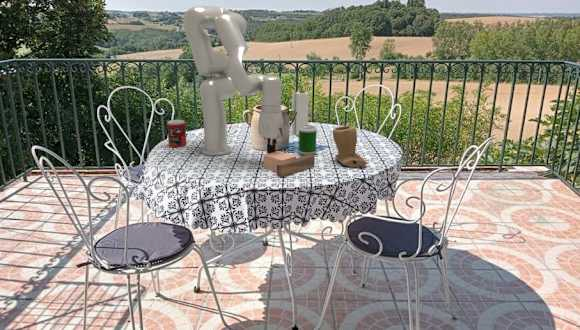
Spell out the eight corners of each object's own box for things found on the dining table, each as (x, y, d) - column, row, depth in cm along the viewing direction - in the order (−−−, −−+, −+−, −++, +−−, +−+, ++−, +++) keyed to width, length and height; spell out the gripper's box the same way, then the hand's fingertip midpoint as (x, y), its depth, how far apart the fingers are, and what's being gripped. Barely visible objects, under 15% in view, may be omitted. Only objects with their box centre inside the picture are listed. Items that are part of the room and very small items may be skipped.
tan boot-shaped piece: (328, 157, 187) (330, 122, 182) (356, 156, 189) (358, 122, 184) (338, 169, 173) (339, 132, 168) (367, 168, 174) (369, 131, 170)
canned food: (165, 146, 202) (163, 122, 198) (176, 142, 209) (174, 119, 205) (179, 148, 199) (177, 124, 195) (189, 143, 206) (188, 120, 202)
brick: (263, 168, 174) (263, 154, 172) (278, 163, 180) (278, 150, 178) (282, 174, 168) (281, 160, 166) (296, 169, 173) (296, 155, 171)
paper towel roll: (310, 134, 224) (310, 91, 217) (303, 136, 219) (304, 93, 212) (297, 132, 227) (298, 90, 221) (291, 134, 223) (291, 92, 216)
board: (276, 175, 166) (276, 164, 164) (308, 164, 178) (308, 154, 177) (282, 177, 164) (282, 166, 162) (314, 166, 176) (314, 155, 175)
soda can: (314, 156, 188) (315, 129, 184) (297, 155, 190) (297, 128, 186) (317, 151, 195) (317, 125, 191) (300, 150, 197) (300, 124, 193)
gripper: (251, 107, 175) (251, 151, 181) (277, 112, 165) (277, 159, 171) (265, 104, 180) (265, 148, 186) (291, 110, 170) (291, 155, 176)
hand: (271, 153), depth 178 cm, fingers closed
